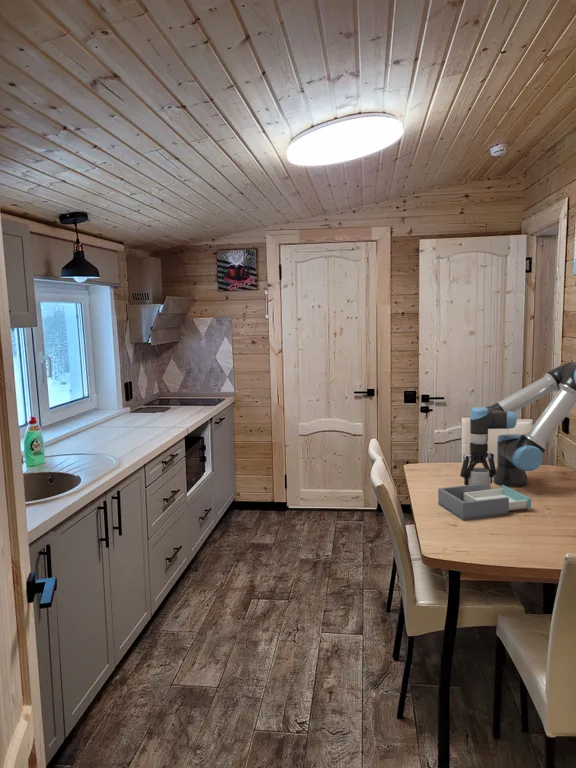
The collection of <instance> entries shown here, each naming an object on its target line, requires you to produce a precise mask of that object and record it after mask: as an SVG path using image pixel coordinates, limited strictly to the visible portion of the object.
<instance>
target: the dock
mask: <svg viewBox="0 0 576 768" xmlns="http://www.w3.org/2000/svg"><path fill="white" fill-rule="evenodd" d="M437 491H438V499H437V501H438V502H437V504H438V506H440V507H441V508H443V509H444V510H446V511H447V512H449V513H451V514H452V515H454V516H455V517H457V518H459V519H460V520H461V521H471V520H477V519H487V518H496V517H504V516H509V514H510V513H509V512H510V510H509V498H508V497H503V498H495V499H486V500H477V501H469V502H465V501H464V500H463V493H464V492H473V491H482V484H474V485H465V484H464V485H458V486H457V485H456V486H447V487H440V488H438V490H437Z"/></svg>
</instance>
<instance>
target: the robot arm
mask: <svg viewBox="0 0 576 768" xmlns="http://www.w3.org/2000/svg"><path fill="white" fill-rule="evenodd" d="M552 392H556V394H555V395H554V397H553V398H552V399H551V401H550V402H549V404H548V405H547V406H546V408H545V409H544V410H543V411H542V413H541V414H540V416H539V417H538V418H537V420H536V421H535V422H534V423H533V425H532V426H531V427H530V429H529V430H528V432H526V433H522V434H519V433H518V434H517V433H511V434H509V433H508V434H500V435H498V436H497V441H496V442H497V447H496V448H497V449H496V450H497V465H496V464H495V461H494V460H495V457H494V456H495V454H494V453H491V452H489V453H488V450H489V449H488V448H489V447H488V446H489V444H488V442H489V430H497V429H498V430H500V429H501V430H502V429H503V430H505V429H506V430H508V429H514V428H515V427H516V426H517V421H518V419H517V415H516V413H515V412H517V411H519V410H520V409H522V408H524V407H526V406H528V405H530V404H532V403H533V402H536V400H539V399H541V398H543V397H545V396H546V395H549V394H550V393H552ZM575 405H576V362H566V363H563V364H561V365H559V366H557V367H555V368H553V369H552V370H549V371H548V372H545V373H544V376H543V377H541V378H540V379H537V380H535V381H534V382H533V383H530V384H529V385H527V386H525V387H524V388H522V389H520V390H517V391H516V392H514V393H513V394H510V395H508V396H507V397H505V398H503V399H502V400H499V401H498V402H495V403H494V404H492V405H485V406H483V407H482V406H481V407H480V406H478V407H477V406H476V407H472V408H471V409H470V415H469V421H470V422H469V426H470V427H469V428H470V429H469V430H470V432H469V442H470V443H469V451H470V452H469V454H467V455H466V454H463V461H462V465H461V469H460V470H461V471H460V473H459V474H460V475H459V476H460V477H461V478H462V479H464V486H465V485H471V479H470V478H469V477H470V473H471V471H473V469H474V468H476V466H477V464H482V466H483V468H485V469H488V470H489V490H491V487H492V483H494V484H496V485H498V486H501V485H504V486H506V487H508V488H520V487H521V488H522V487H525V486H527V485H529V482H528V481H529V479H528V476H527V473H526V472H532V471H535V470H537V469H538V468H539V467H540V466H542V463H543V460H544V458H543V457H544V456H543V455H544V453H545V451H546V450H547V448H546V443H547V442H548V441H549V439H551V437H552V436H553V435H554V433H555V431H556V430H557V429H558V427H560V425H561V424H562V422H563V421H564V419H566V417H567V416H568V414H569V413H570V411H571V410H572V409H573V408H574V407H575ZM487 459H488V460H487ZM496 466H497V467H496Z"/></svg>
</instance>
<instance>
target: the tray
mask: <svg viewBox="0 0 576 768" xmlns="http://www.w3.org/2000/svg"><path fill="white" fill-rule="evenodd" d="M503 497H508V498H509V511H516V510H525V509H527V510H531V509H532V498H531V497H529V496H527V495H526V494H523V493H521V492H518V491H516V490H514V489H512V488H511V487H507V486H504V485H500V488H493V489H491V490H482V491H473V492H464V493H463V500H464V501H465V502H469V501H477V500H486V499H495V498H503Z"/></svg>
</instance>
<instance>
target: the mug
mask: <svg viewBox="0 0 576 768" xmlns="http://www.w3.org/2000/svg"><path fill="white" fill-rule="evenodd" d="M469 478H470V479H471V485H474V484H482V490H489V470H488V469H485V468H484V467H474V469H473V471H471V473H470V477H469Z"/></svg>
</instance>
